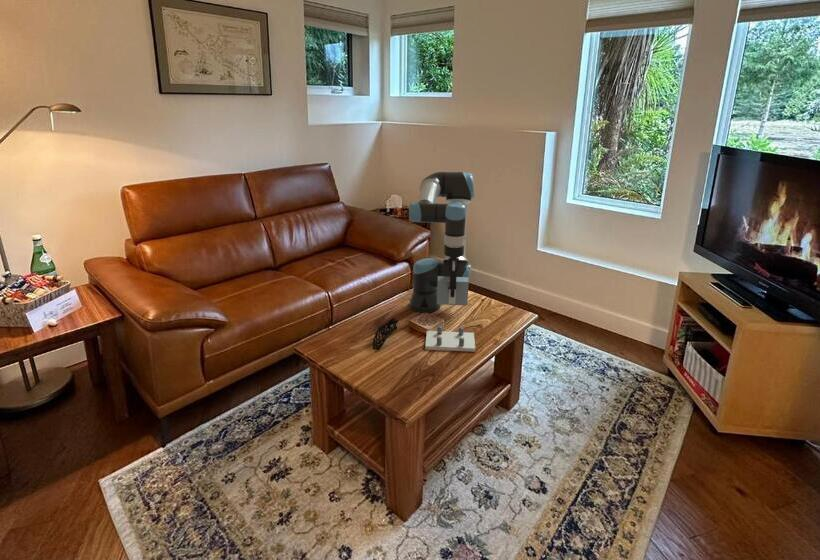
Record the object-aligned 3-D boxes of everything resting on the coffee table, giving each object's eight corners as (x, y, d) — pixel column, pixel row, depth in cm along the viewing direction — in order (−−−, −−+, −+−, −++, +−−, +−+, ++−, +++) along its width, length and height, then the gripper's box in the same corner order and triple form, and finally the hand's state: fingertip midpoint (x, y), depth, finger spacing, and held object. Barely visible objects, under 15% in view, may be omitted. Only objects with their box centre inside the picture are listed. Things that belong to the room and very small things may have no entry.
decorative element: (381, 352, 187) (381, 339, 184) (370, 349, 188) (370, 337, 186) (400, 327, 206) (400, 315, 204) (389, 325, 208) (389, 313, 206)
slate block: (436, 304, 184) (437, 281, 180) (437, 299, 189) (437, 276, 185) (467, 305, 183) (468, 282, 180) (466, 300, 188) (468, 277, 184)
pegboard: (425, 349, 188) (425, 339, 186) (426, 333, 200) (427, 324, 198) (475, 351, 187) (475, 341, 185) (473, 335, 198) (474, 326, 197)
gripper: (464, 252, 168) (461, 310, 177) (463, 238, 185) (460, 292, 194) (444, 252, 169) (442, 310, 178) (444, 237, 186) (442, 291, 194)
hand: (451, 300), depth 186 cm, fingers closed on slate block, 5 cm apart
